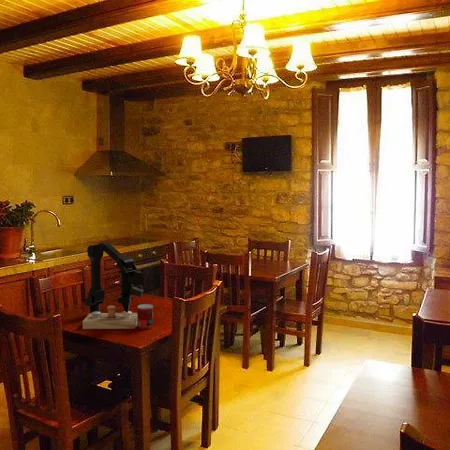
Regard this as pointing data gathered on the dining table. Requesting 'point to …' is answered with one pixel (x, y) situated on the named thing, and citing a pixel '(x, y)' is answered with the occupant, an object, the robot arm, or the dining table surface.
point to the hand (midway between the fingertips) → (126, 312)
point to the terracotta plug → (111, 311)
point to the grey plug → (96, 314)
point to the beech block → (110, 322)
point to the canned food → (145, 316)
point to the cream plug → (127, 314)
